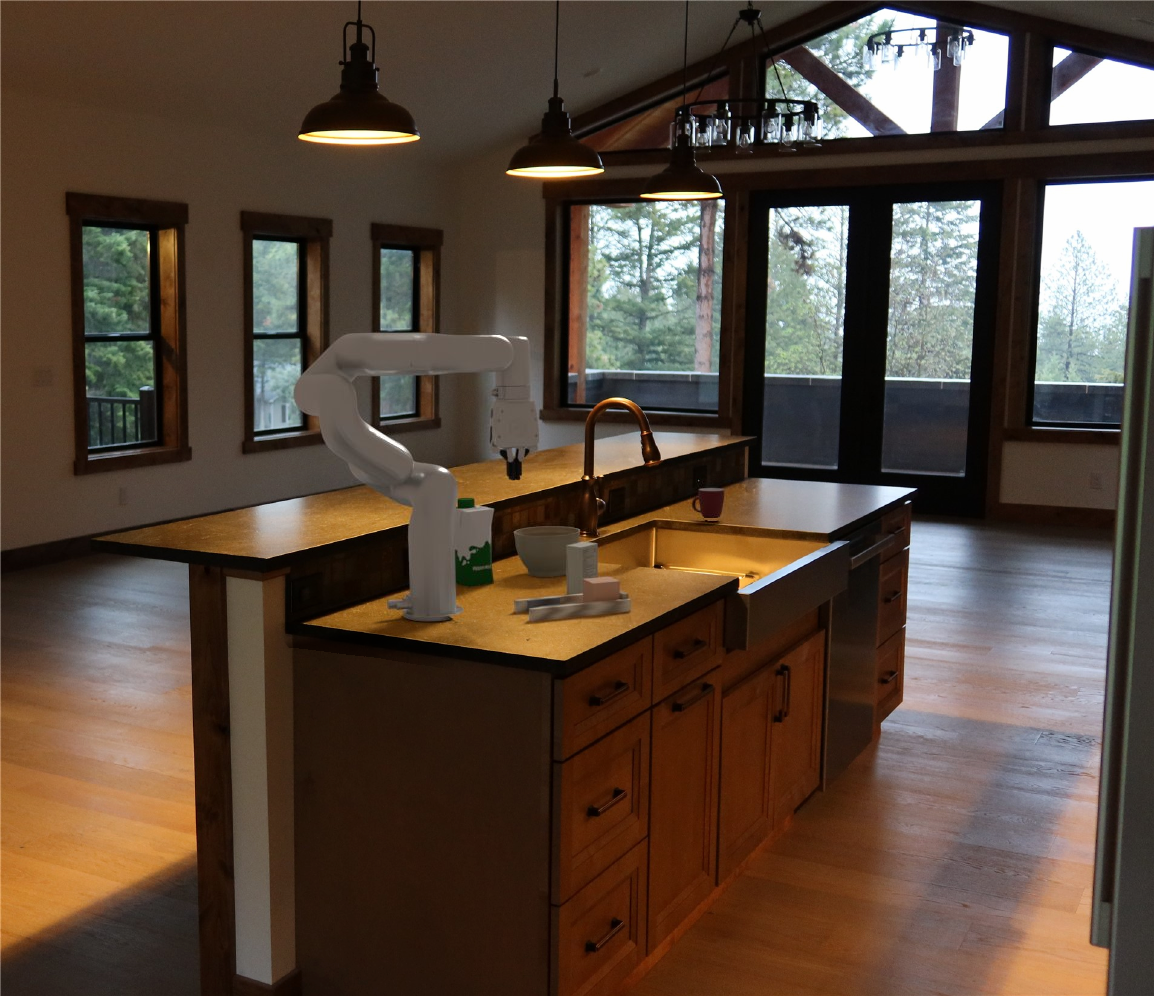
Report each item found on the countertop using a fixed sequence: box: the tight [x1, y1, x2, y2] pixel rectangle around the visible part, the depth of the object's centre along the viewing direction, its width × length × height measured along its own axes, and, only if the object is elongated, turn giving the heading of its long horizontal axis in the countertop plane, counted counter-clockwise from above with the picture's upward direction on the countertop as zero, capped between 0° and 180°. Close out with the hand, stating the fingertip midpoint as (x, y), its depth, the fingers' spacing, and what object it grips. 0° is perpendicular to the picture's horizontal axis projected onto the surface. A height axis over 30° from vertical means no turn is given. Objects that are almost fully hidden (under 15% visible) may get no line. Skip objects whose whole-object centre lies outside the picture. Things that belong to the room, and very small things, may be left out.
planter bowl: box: [513, 525, 581, 578], centre depth 296 cm, size 16×16×11 cm
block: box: [583, 576, 621, 603], centre depth 253 cm, size 6×5×6 cm
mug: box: [691, 487, 725, 519], centre depth 382 cm, size 10×8×10 cm
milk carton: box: [454, 497, 495, 588], centre depth 285 cm, size 9×9×20 cm
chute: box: [513, 589, 632, 622], centre depth 250 cm, size 22×10×4 cm, turn 113°
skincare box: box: [566, 541, 599, 595], centre depth 268 cm, size 6×4×12 cm
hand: (514, 479), depth 261 cm, fingers closed
